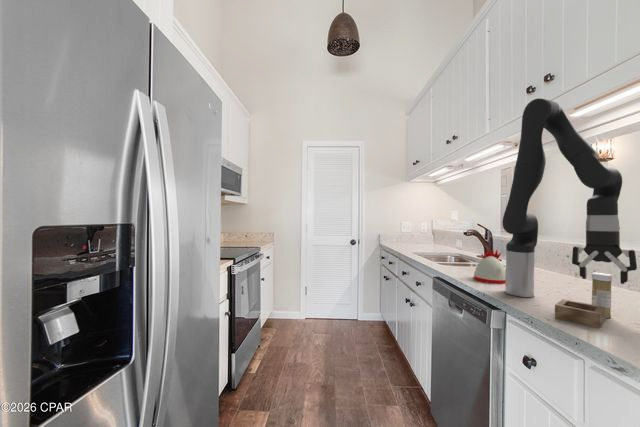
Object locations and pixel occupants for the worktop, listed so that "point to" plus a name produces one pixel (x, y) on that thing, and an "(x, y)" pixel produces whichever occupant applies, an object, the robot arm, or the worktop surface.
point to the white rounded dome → (490, 269)
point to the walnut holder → (580, 313)
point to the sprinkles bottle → (602, 291)
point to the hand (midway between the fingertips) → (602, 281)
